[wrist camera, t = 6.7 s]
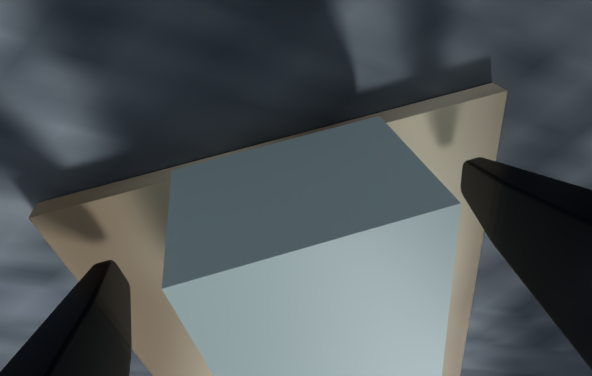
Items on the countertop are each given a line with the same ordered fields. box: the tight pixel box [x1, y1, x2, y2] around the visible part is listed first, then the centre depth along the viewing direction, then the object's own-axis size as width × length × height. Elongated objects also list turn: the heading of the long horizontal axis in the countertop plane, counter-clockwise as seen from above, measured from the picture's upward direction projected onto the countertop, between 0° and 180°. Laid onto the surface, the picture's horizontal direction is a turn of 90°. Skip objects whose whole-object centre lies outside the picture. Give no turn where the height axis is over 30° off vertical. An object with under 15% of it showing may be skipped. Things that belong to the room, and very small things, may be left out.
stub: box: [162, 116, 461, 376], centre depth 9 cm, size 5×6×4 cm
